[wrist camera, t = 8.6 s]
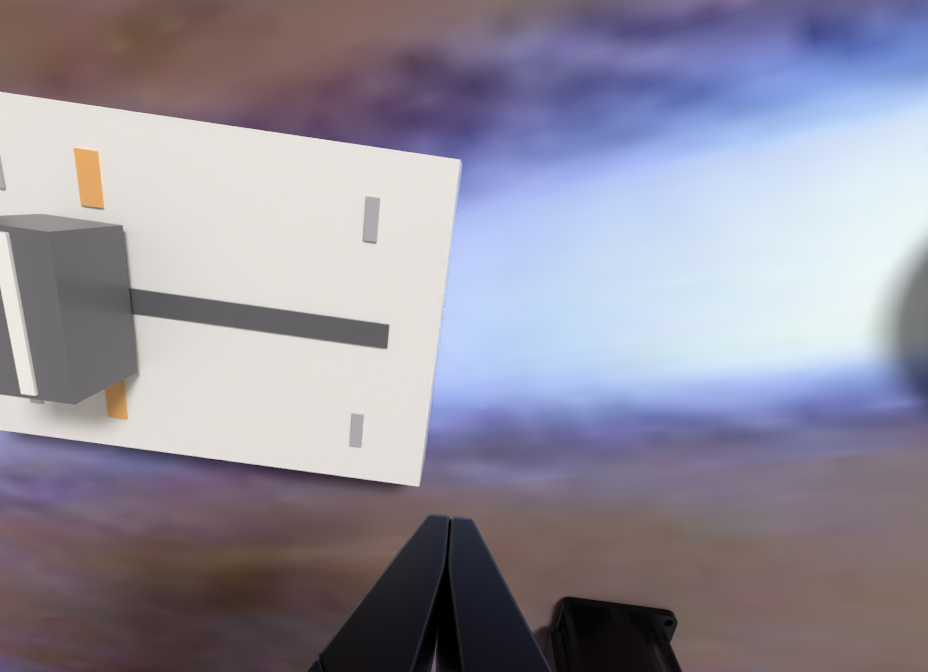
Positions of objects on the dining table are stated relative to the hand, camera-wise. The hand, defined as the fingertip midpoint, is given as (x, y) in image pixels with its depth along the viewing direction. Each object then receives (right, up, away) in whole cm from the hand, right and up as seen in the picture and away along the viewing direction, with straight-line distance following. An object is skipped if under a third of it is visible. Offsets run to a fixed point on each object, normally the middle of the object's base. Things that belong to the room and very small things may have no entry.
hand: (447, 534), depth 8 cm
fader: (-14, +5, +9) cm, 18 cm away
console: (-11, +6, +12) cm, 17 cm away
